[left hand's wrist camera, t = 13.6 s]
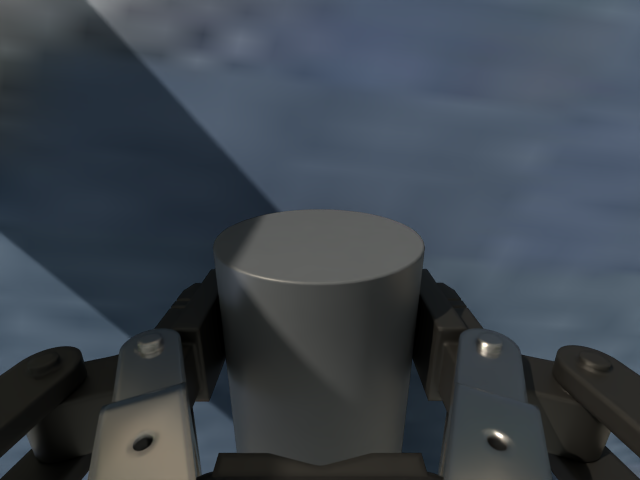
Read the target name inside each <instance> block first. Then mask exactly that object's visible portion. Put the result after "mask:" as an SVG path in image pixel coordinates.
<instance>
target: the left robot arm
mask: <svg viewBox="0 0 640 480" xmlns="http://www.w3.org/2000/svg"><path fill="white" fill-rule="evenodd" d="M412 358H413V361H414V363H415V366H416V369H417V371H418V374H419V377H420V379H421V382H422V385H423V387H424V390H425V393H426V395H427V398H428V401H443V403H444V406H445V408H446V410H447V413H446V419H445V426H444V434H443V441H442V449H441V456H440V464H439V471H438V475H437V474H434V473H431V472H427V471H426V468H425V464H424V461H423V457H422V454H421V453H369V454H365V455H362V456H358V457H354V458H350V459H346V460H342V461H339V462H335V463H331V464H327V465H322V466H318V465H313V464H309V463H305V462H301V461H298V460H294V459H290V458H286V457H282V456H278V455H275V454H271V453H219V454H218V457H217V461H216V464H215V468H214V471H213V472H209V473H206V474H203V475H202V471H201V464H200V456H199V449H198V441H197V434H196V426H195V419H194V413H193V405H194V403H195V401H209V400H210V398H211V395H212V393H213V390H214V387H215V385H216V382H217V380H218V377H219V374H220V372H221V369H222V366H223V364H224V361H225V359H226V355H225V346H224V338H223V329H222V321H221V312H220V303H219V295H218V286H217V278H216V269H212V270H211V271H210V272H209V273H208V275H207V276H206V278H205V279H204V281H203V282H202V283H195V284H193V285H192V286H190V287H189V288H187V289H185V290H184V291H183V292H182V293H181V295H180V296H179V297H178V299H177V301H175V302H174V304H173V305H172V306H171V309H169V310H168V312H167V313H166V314H165V316H164V317H163V318H162V319H161V321H160V322H159V323H158V325H157V326H156V327H155V329H152V330H148V331H145V332H142V333H140V334H137V335H135V336H134V337H132V338H130V339H129V340H128V341H127V342H125V343H124V344H123V346H122V347H121V349H120V352H119V354H118V355H115V356H111V357H106V358H101V359H96V360H91V361H86V362H84V360H83V357H82V353H81V351H80V350H79V349H78V348H75V347H71V346H62V347H55V348H51V349H47V350H44V351H41V352H38V353H36V354H34V355H31V356H29V357H28V358H26V359H24V360H22V361H21V362H19V363H18V364H16V365H15V366H13V367H12V368H11V369H9V370H8V371H6V372H5V373H3V374H2V375H0V457H2V456H3V455H4V454H5V453H6V452H7V451H8V450H9V449H10V448H11V447H13V446H14V445H15V444H16V443H17V442H18V441H19V440H20V439H21V438H22V437H24V436H25V435H27V438H28V440H29V443H30V445H31V447H32V449H31V450H30V451H29V452H28V453H27V454H26V455H25V456H24V457H23V458H22V459H21V460H19V461H18V462H17V463H16V464H15V465H14V466H13V467H12V468H11V469H10V470H9V471H8V472H7V473H6V474H5V475H4V476H3V477H2V478H1V479H0V480H82V478H83V477H84V476H85V475H86V473H87V472H88V471H89V474H88V480H552V474H551V471H552V472H553V473H554V475H555V476H556V477H557V478H558V480H640V479H639V478H638V477H637V476H636V475H635V474H634V473H633V472H632V471H631V470H630V469H629V468H628V467H627V466H626V465H625V464H624V463H623V462H622V461H621V460H619V459H618V458H617V457H616V456H615V455H614V454H613V453H612V452H611V451H610V450H609V449H608V448H607V447H606V446H605V445H606V442H607V440H608V437H609V435H610V432H612V433H613V434H614V435H615V436H616V437H618V438H619V439H620V440H621V441H622V442H623V443H624V444H625V445H626V446H627V447H628V448H630V449H631V450H632V451H633V452H634V453H635V454H636V455H637V456H638V457H639V458H640V375H638V374H637V373H635V372H634V371H632V370H631V369H629V368H628V367H627V366H625V365H624V364H622V363H621V362H619V361H618V360H616V359H615V358H613V357H611V356H609V355H607V354H605V353H603V352H600V351H598V350H595V349H592V348H588V347H584V346H576V345H569V346H564V347H561V348H560V349H559V350H558V351H557V355H556V358H555V361H550V360H545V359H540V358H535V357H530V356H525V355H521V352H520V349H519V347H518V346H517V344H516V343H515V342H513V341H512V340H511V339H510V338H508V337H506V336H505V335H503V334H500V333H498V332H495V331H492V330H488V329H483V327H482V326H481V325H480V323H479V322H478V321H477V319H476V318H475V317H474V316H473V314H472V313H471V312H470V310H469V309H468V308H466V305H465V304H464V302H463V301H461V298H460V297H459V296H458V294H457V293H456V292H455V290H453V289H452V288H450V287H448V286H447V285H445V284H444V283H436V282H435V280H434V279H433V277H432V276H431V274H430V273H429V271H428V270H427V269H422V277H421V285H420V294H419V303H418V312H417V321H416V329H415V338H414V347H413V356H412Z"/></svg>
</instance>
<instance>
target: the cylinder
mask: <svg viewBox="0 0 640 480" xmlns="http://www.w3.org/2000/svg"><path fill="white" fill-rule="evenodd" d="M424 250H425V246H424V242H423V240H422V238H421V237H420V236H419V235H418V234H417V233H416V232H415V231H414V230H412V229H411V228H409V227H407V226H406V225H404V224H401V223H399V222H397V221H394V220H391V219H388V218H384V217H380V216H376V215H372V214H367V213H361V212H353V211H343V210H320V209H318V210H295V211H285V212H278V213H272V214H267V215H262V216H258V217H254V218H251V219H248V220H245V221H242V222H239V223H237V224H235V225H233V226H231V227H229V228H227V229H226V230H224V231H223V232H222V233H221V234H220V235H219V236H218V237H217V238H216V240H215V242H214V245H213V252H214V261H215V269H216V278H217V286H218V295H219V303H220V312H221V321H222V329H223V338H224V346H225V355H226V363H227V372H228V380H229V389H230V397H231V406H232V414H233V423H234V431H235V440H236V448H237V453H271V454H275V455H278V456H282V457H286V458H290V459H294V460H298V461H301V462H305V463H309V464H313V465H318V466H322V465H327V464H331V463H335V462H339V461H342V460H346V459H350V458H354V457H358V456H362V455H365V454H369V453H401V452H402V444H403V435H404V426H405V417H406V408H407V400H408V391H409V382H410V373H411V365H412V356H413V347H414V338H415V329H416V321H417V312H418V303H419V294H420V285H421V277H422V268H423V259H424Z"/></svg>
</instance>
